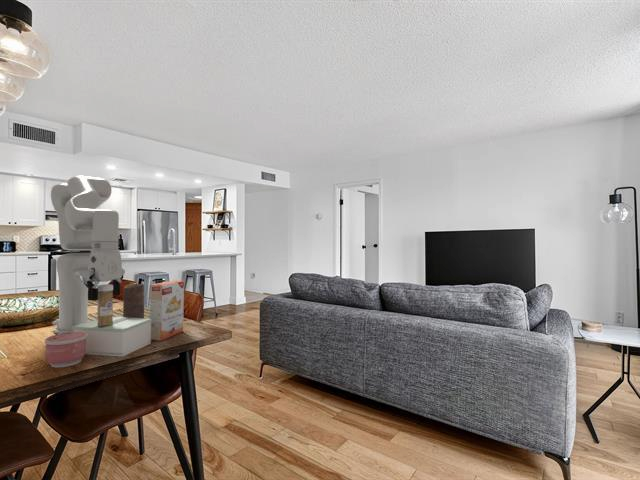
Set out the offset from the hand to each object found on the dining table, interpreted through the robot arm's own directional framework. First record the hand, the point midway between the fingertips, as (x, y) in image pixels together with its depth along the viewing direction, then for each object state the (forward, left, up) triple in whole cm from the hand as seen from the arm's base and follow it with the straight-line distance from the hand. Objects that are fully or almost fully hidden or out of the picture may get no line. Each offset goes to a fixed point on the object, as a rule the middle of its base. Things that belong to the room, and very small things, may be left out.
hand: (104, 297), depth 116 cm
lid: (+1, +4, -10) cm, 11 cm away
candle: (-3, +19, -18) cm, 26 cm away
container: (-3, -11, -19) cm, 22 cm away
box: (+1, +4, -18) cm, 19 cm away
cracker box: (+10, +21, -18) cm, 29 cm away
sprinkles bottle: (0, 0, -9) cm, 9 cm away
